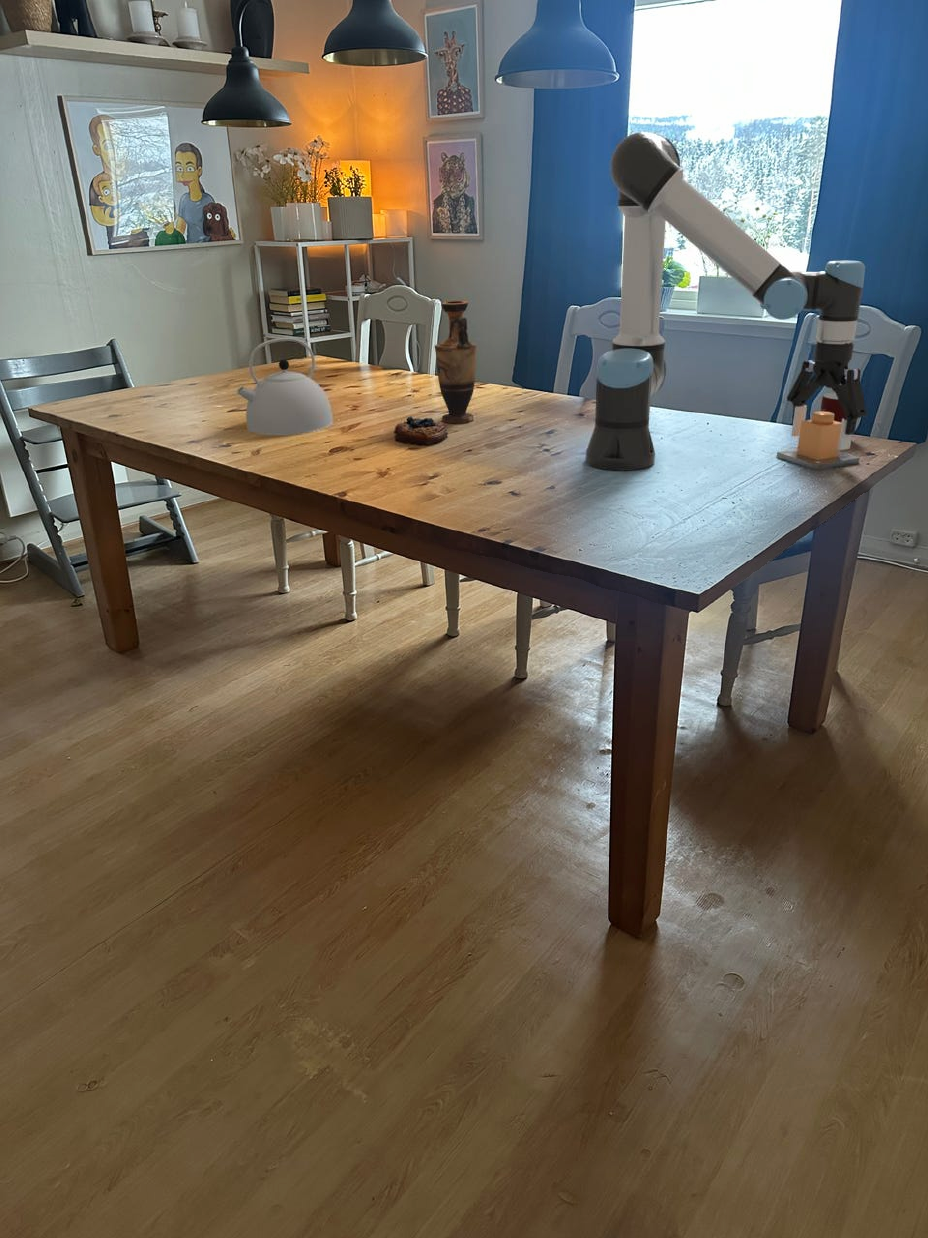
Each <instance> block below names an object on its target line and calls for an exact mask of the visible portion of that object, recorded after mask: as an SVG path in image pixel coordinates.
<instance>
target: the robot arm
mask: <svg viewBox="0 0 928 1238" xmlns="http://www.w3.org/2000/svg"><path fill="white" fill-rule="evenodd" d="M680 159H681V158H680V155H679V152H678V150H677V148H676V146H675V145H674V143H673V142H672V141H671V140H670V139H668V138H667V137H665V136H664V135H661V134H658V133H651V132H645V131H643V132H642V131H640V132H639V131H638V132H635V133H632V134H630V135H628V136H626V137H625V138H623V139H622V140H621V141H620V142H619V143H618V145H617V146H616V147H615V149H614V151H613V153H612V156H611V158H610V165H609V166H610V167H609V169H610V171H609V172H610V177H611V179H612V182H613V184H614V185H615V187H616V188H617V189H618V204H617V208H618V210H619V211H620V212H621V213H622V214H623V216H624V226H623V227H624V229H623V252H622V254H623V255H622V274H621V275H622V276H621V292H620V293H621V294H620V295H621V299H620V317H619V318H620V319H619V320H620V321H619V332H618V334H617V335H616V336H615V338H613V340H612V343H611V344H612V345H611V350H609V351H607V352H605V353H602V354H601V355H600V356H599V358H598V361H597V367H596V370H595V373H596V374H595V375H596V384H595V385H596V388H595V411H594V412H595V417H594V419H595V420H594V429H593V431H592V434H591V437H590V439H589V443H588V445H587V448H586V451H585V462H586V463H587V464H588V465H589V466H591V467H594V468H596V469H597V468H598V469H603V470H607V471H608V470H609V471H635V470H636V471H637V470H641V469H647V468H649V467H651V466H653V465H654V464H655V459H656V451H655V447H654V443H653V440H652V435H651V432H650V428H649V427H650V412H651V411H650V410H651V398H652V397H654V396H655V395H656V394H657V393H658V392H659V391H660V390H661V388H662V387H663V385H664V382H665V380H666V377H667V363H666V360H665V345H666V340H665V339H664V338H663V336H662V335H661V334H660V333H659V332H660V320H661V319H660V317H661V299H662V288H663V287H662V284H663V283H662V282H663V270H664V269H663V268H664V255H665V239H666V237H665V235H666V222H667V223H668V224H669V225H671V226H672V227H673V228H674V229H675V230H676V231H677V232H679V233H680V234H681V235H682V236H683V237H684V238H686V239H687V240H688V241H689V242H690V243H691V244H693V246H694V247H696V248H697V249H698V250H699V251H700V252H702V253H703V254H704V255H705V256H706V257H707V258H709V259H710V260H711V261H712V262H713V263H714V264H716V265H717V266H718V267H719V268H720V269H721V270H722V271H724V272H725V273H726V274H727V275H728V276H729V277H730V278H732V279H733V280H734V281H735V282H736V283H737V284H739V285H740V286H741V287H742V288H743V289H744V290H746V291H747V292H748V294H750V295H751V296H752V297H753V298H754V299H755V300H756V301H757V302H759V306H760V309H763V310H766V313H768V315H769V316H770V317H771V318H774V319H777V320H781V321H782V320H783V321H785V320H788V319H789V320H791V319H792V318H794V317H796V316H797V315H798V314H800V313H801V312H802V311H819V315H818V321H817V329H816V335H815V339H817V340H818V341H816V342H815V343H814V350H813V357H812V358H813V359H810V360H804V361H803V362H802V364H801V365H802V366H801V370H800V373H798V376H797V378H796V380H795V381H794V384H793V385H792V386H791V389H790V391H789V393H788V395H787V397H786V400H787V401H788V402H790V403H792V406H793V407H792V415H791V419H792V420H793V422H792V427H791V428H792V429H791V436H790V437H799V435H800V428H801V421H805V420H806V418H807V417H806V416H807V411H808V408H807V407H808V405H807V403H806V402H807V401H808V400H809V399H810V398H811V396H812V395H814V393H815V392H816V391H817V390H818V389H819V388H820V387H826V388H828V389H832V391H833V393H836V395H837V397H838V400H839V402H840V404H841V407H842V409H843V412H844V414H845V416H846V417H845V418H844V419H842V424H841V430H840V436H839V443H838V450H839V451H844V450H848V449H849V450H850V449H851V443H852V437H853V435H854V434H855V432H856V427H857V421H858V419H860V418H865V417H866V416H867V414H868V413H867V409H866V408H867V407H866V403H865V398H864V393H863V389H862V384H861V372H862V371H861V369H860V368H853V369H849V363H850V362H851V360H852V358H853V353H854V352H853V351H854V347H855V344H854V343H853V342H852V341H853V340H855V338H856V331H857V326H858V318H859V313H860V308H861V301H862V297H863V290H864V283H865V282H864V281H865V273H866V266H865V264H864V263H863V262H862V261H858V260H830V261H828V262H827V264H826V265H825V268H824V270H822V271H790V270H789V269H788V268H787V267H785V266H784V265H783V264H781V262H779V260H777V259H776V258H775V257H773V255H772V254H770V253H769V252H768V251H767V250H766V249H764V247H762V246H761V245H760V244H759V243H758V242H756V241H755V239H753V238H752V237H751V236H750V235H749V234H747V232H745V231H744V230H743V229H742V228H741V227H739V225H737V224H736V223H735V222H734V221H733V220H732V219H730V218H729V217H728V216H727V215H726V214H725V213H723V211H721V209H719V208H718V207H716V205H714V203H712V202H711V201H710V200H709V199H708V198H707V197H705V196H704V195H703V194H702V193H701V191H698V190H697V189H696V187H694V186H693V185H692V184H690V182H688V181H687V180H686V179H685V178H684V169H682V168H681V160H680Z"/></svg>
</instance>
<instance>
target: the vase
mask: <svg viewBox="0 0 928 1238" xmlns="http://www.w3.org/2000/svg"><path fill="white" fill-rule="evenodd" d="M440 305H441V307H442V309H443V312H445V313H446V315H447V316H448V323H449V324H448V326H449V332H448V333H449V334H448V337H447V339H446V340H444V341H443V342H440V343H437V344H434V351H435V361H436V369H437V378H438V379H437V380H438V386H439V390H440V393H441V395H442V398H443V401H444V404H445V405H446V408H447V410H448V413H446V414H444V415H442V417H441V421H442V423H444V424H445V423H446V424H468V423H470V422H472V421H474V419H475V418H474V415H473V414H472V413H468V412H467V410H468V407H469V404H470V402H471V400H472V396H473V394H474V389H475V384H476V383H475V382H476V372H477V371H476V367H477V366H476V365H477V349H478V348H477V346H478V345H477V343H475V342H470V341H469V336H468V335H469V334H468V321H467V317H465V316H463V315H464V312H466V310H467V308H468V306H469V301H468V300H467V301H466V300H449V301H443V302H441V303H440Z"/></svg>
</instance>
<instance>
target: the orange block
mask: <svg viewBox="0 0 928 1238" xmlns="http://www.w3.org/2000/svg"><path fill="white" fill-rule="evenodd" d="M834 415H835V414H834V413H831V412H822V411H821V410H820V411H814V412H812V416H811V419H805V421H801V428H800V435H799V436H798V442H797V443H798V444H797V449H798V450H797V454H800V455H803V456H806V457H809V458H813V459H816V460H820V459H825V458H831V457H837V456H838V454H839V452H840V450H838V443H839V436H840V430H841V424H842V423H841V422H837V421H834Z"/></svg>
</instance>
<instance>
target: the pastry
mask: <svg viewBox="0 0 928 1238" xmlns="http://www.w3.org/2000/svg"><path fill="white" fill-rule="evenodd" d="M394 434H395V435H394V437H393V438H394V441H395V442H397V443H400V444H406V443H411V444H410V445H413V444H417V445H416V446H422V445H423V446H424V447H428V446H433V445H436V443H437V444H439V443H442V442H444V441H445V440H447V439H448V438H449V437H448V434H449V433H448V427H447V425H446V424H445V422H443V421H442V422H441V421H438V422H437V421H434V419H433V418H432V417H430V418H429V417H425V418H419V417H418V418H417V417H416V418H413V416H408V417H407V418H406V421H403V422H400V423H398V424H396V426H395V427H394Z"/></svg>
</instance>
